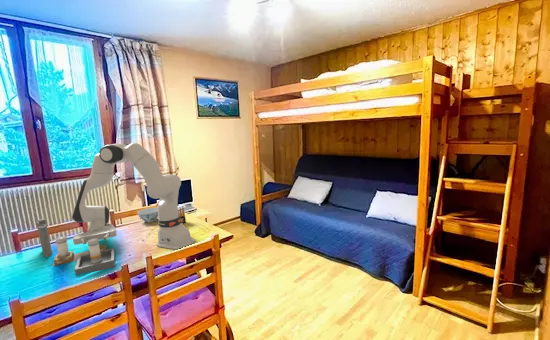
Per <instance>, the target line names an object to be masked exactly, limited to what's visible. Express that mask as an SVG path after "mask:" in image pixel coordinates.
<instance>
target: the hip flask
mask: <svg viewBox="0 0 550 340" xmlns="http://www.w3.org/2000/svg"><path fill="white" fill-rule="evenodd" d="M36 228H37V231H38V236H39V242H40V245H41V251H42V253H43V256H44V258H46V257H50V256H52V255H53V249H52V245H51V239H50V233H49V229H48V224H47V218H41V219H40V218H39V219H38V220H37V221H36Z"/></svg>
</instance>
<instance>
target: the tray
mask: <svg viewBox="0 0 550 340" xmlns="http://www.w3.org/2000/svg"><path fill="white" fill-rule="evenodd" d="M100 253H101V258H102V262H100V263H96V264H91V258H90V254H86V255H82V256H78V260H77V261H76V265H75V267H74V274H75V275H80V274H83V273H87V274H91V273H95V272H98V271H99V272H100V271H105V270H106V269H111V268H114V267H115V266H116V264H115V262H116V260H115V259H116V257H115V255H116V254H115V248H110V249H109V248H108V250H104V251H100Z"/></svg>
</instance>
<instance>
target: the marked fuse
mask: <svg viewBox="0 0 550 340" xmlns="http://www.w3.org/2000/svg"><path fill="white" fill-rule="evenodd" d="M99 241H100V240H98V239H91V240H89V241H87V242H86V243H87V246H88V251H89V252H90V258H91V264H96V263H100V262H102V258H101V253H100V248H99V245H100V242H99Z"/></svg>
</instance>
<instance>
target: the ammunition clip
mask: <svg viewBox="0 0 550 340" xmlns="http://www.w3.org/2000/svg"><path fill="white" fill-rule="evenodd" d="M178 216H179V217H180V219H182V220H181V223H183V224H187V220H186V219H187V218H186V214H185V210H184V206H179V208H178Z"/></svg>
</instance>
